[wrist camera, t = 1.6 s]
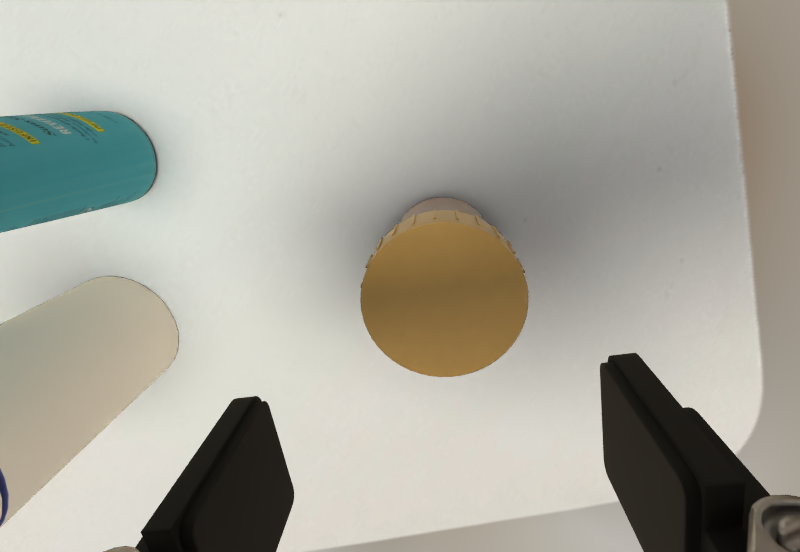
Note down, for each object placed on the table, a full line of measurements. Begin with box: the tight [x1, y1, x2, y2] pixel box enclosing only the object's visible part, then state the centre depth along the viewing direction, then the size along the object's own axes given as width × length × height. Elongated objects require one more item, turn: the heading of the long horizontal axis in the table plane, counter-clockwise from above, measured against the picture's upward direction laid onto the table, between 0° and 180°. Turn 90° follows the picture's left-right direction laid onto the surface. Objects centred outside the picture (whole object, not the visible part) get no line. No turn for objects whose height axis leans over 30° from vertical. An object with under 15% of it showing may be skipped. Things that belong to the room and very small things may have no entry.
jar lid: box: [361, 209, 528, 377], centre depth 20 cm, size 7×7×2 cm
